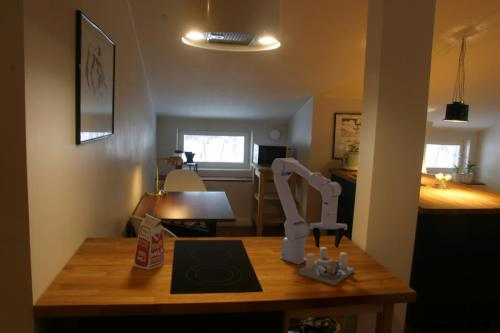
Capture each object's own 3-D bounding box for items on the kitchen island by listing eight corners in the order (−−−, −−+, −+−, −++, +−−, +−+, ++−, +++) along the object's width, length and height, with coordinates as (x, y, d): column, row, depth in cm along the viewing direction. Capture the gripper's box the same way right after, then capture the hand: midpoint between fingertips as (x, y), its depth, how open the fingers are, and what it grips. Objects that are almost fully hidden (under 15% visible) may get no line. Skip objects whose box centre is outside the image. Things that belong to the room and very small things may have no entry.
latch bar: (341, 267, 141) (341, 263, 141) (339, 270, 139) (340, 265, 139) (318, 263, 145) (318, 258, 145) (316, 265, 143) (316, 260, 143)
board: (298, 273, 143) (299, 254, 142) (319, 261, 156) (320, 244, 155) (334, 285, 133) (335, 265, 132) (353, 272, 146) (354, 253, 146)
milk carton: (133, 265, 143) (133, 215, 140) (149, 258, 151) (150, 210, 149) (150, 271, 138) (151, 219, 136) (167, 263, 147) (168, 214, 144)
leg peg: (327, 278, 136) (328, 262, 135) (325, 274, 139) (326, 259, 138) (335, 278, 136) (336, 262, 135) (333, 274, 139) (334, 259, 138)
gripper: (313, 215, 138) (311, 250, 140) (351, 216, 140) (348, 250, 142) (309, 210, 145) (306, 244, 147) (344, 211, 147) (341, 244, 149)
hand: (326, 247), depth 145 cm, fingers open, 7 cm apart
